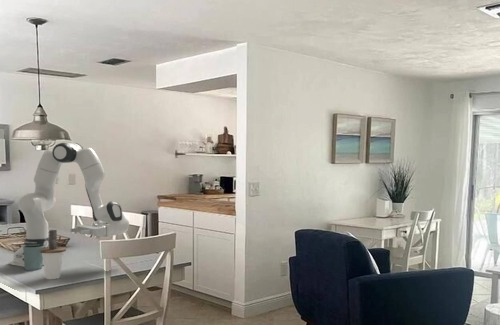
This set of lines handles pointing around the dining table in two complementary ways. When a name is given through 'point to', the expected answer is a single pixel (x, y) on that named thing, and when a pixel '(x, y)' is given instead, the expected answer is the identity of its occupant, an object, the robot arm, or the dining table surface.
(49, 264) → the foam cup
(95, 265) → the dining table surface
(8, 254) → the dining table surface
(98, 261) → the dining table surface
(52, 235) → the cover
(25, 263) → the teal canister
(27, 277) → the dining table surface
